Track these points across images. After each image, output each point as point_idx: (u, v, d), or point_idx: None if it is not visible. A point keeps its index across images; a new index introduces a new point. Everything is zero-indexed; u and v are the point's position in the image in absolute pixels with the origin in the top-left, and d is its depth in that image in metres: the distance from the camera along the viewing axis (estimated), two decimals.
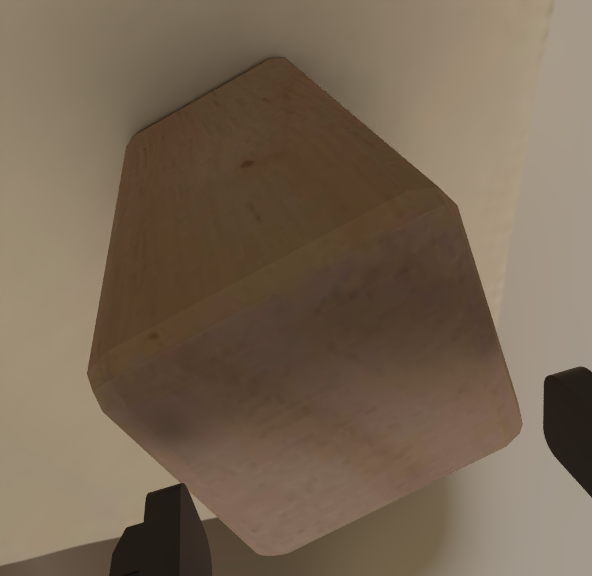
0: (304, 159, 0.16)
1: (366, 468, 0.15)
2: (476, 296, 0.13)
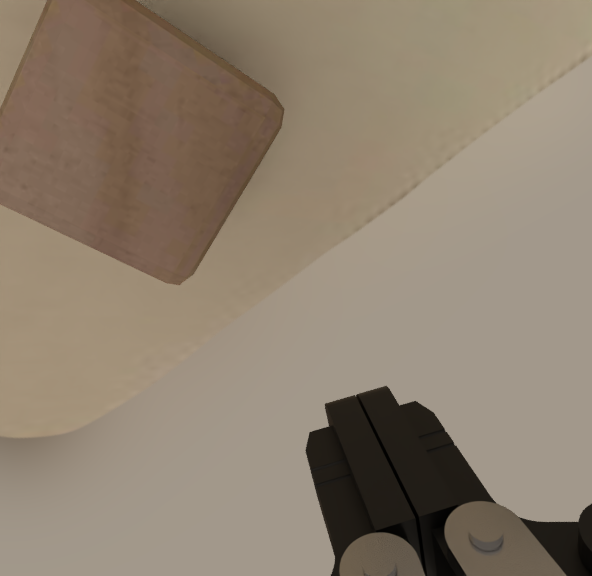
0: None
1: (105, 193, 0.22)
2: (248, 168, 0.23)
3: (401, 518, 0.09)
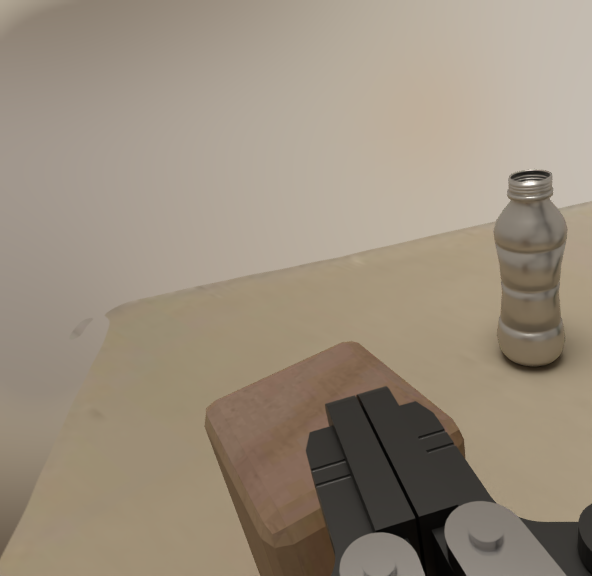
0: None
1: (278, 429, 0.25)
2: None
3: (401, 518, 0.09)
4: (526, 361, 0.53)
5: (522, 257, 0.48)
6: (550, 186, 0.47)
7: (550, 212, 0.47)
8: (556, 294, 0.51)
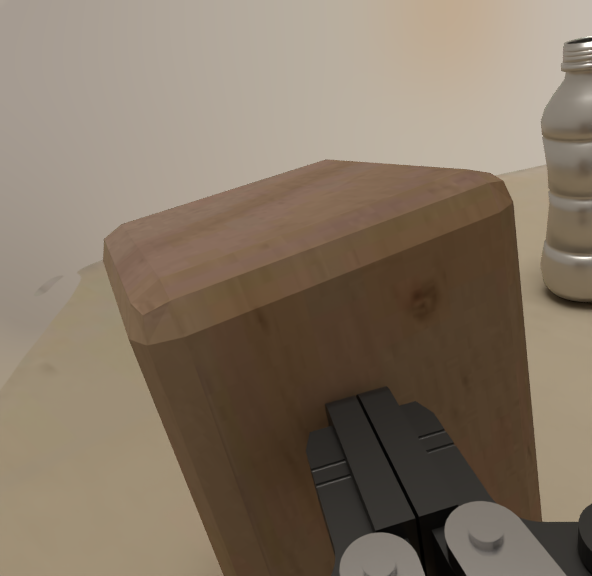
0: None
1: (200, 222, 0.15)
2: (409, 206, 0.12)
3: (401, 518, 0.09)
4: (581, 294, 0.42)
5: (581, 148, 0.37)
6: None
7: None
8: None
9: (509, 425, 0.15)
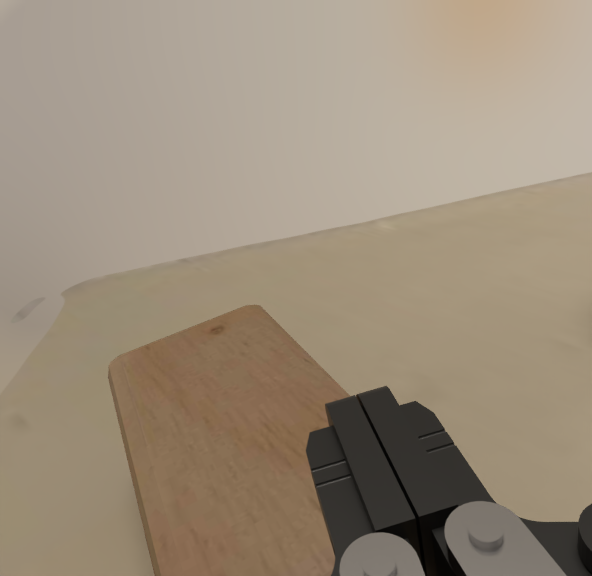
0: None
1: None
2: None
3: (401, 518, 0.09)
4: None
5: None
6: None
7: None
8: None
9: (281, 351, 0.27)
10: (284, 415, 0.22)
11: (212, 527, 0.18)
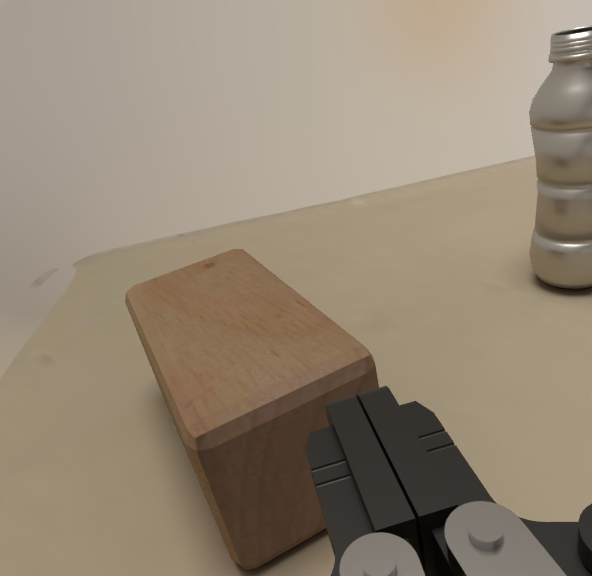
0: None
1: None
2: None
3: (401, 518, 0.09)
4: (569, 280, 0.43)
5: (568, 138, 0.38)
6: None
7: None
8: None
9: (257, 275, 0.36)
10: (256, 310, 0.31)
11: (205, 368, 0.27)
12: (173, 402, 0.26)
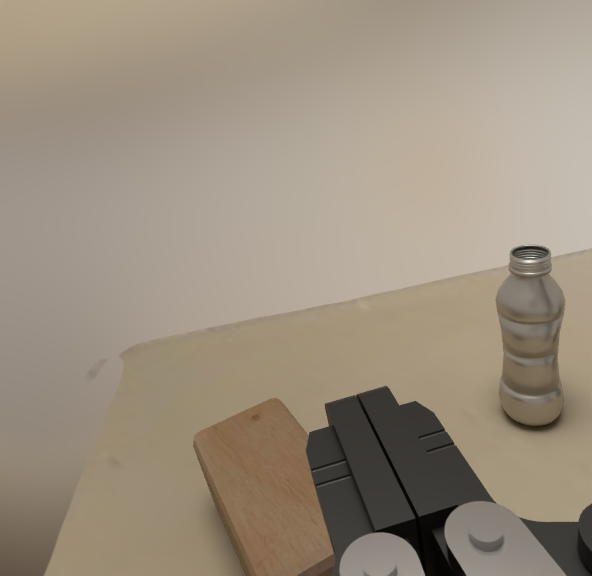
0: None
1: None
2: (251, 408, 0.54)
3: (401, 518, 0.09)
4: (527, 421, 0.56)
5: (522, 328, 0.51)
6: (548, 263, 0.50)
7: (549, 287, 0.50)
8: (555, 360, 0.54)
9: (293, 435, 0.49)
10: (296, 475, 0.44)
11: (267, 531, 0.40)
12: (247, 558, 0.39)
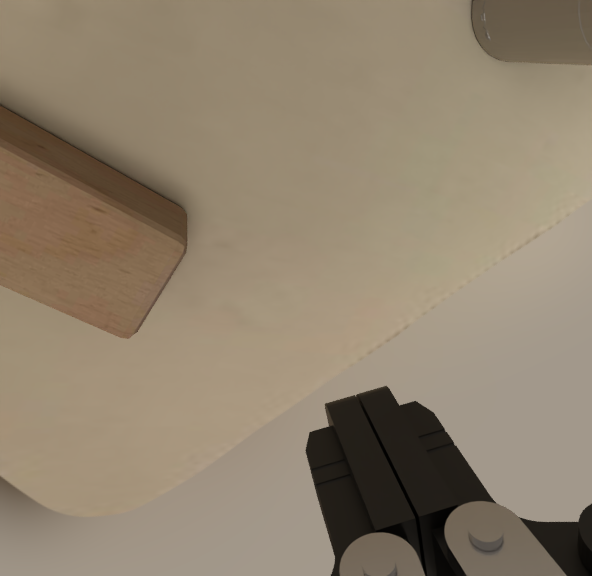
0: (7, 135, 0.37)
1: None
2: None
3: (401, 518, 0.09)
4: None
5: None
6: None
7: None
8: None
9: (13, 173, 0.35)
10: (67, 229, 0.38)
11: (88, 299, 0.40)
12: None
